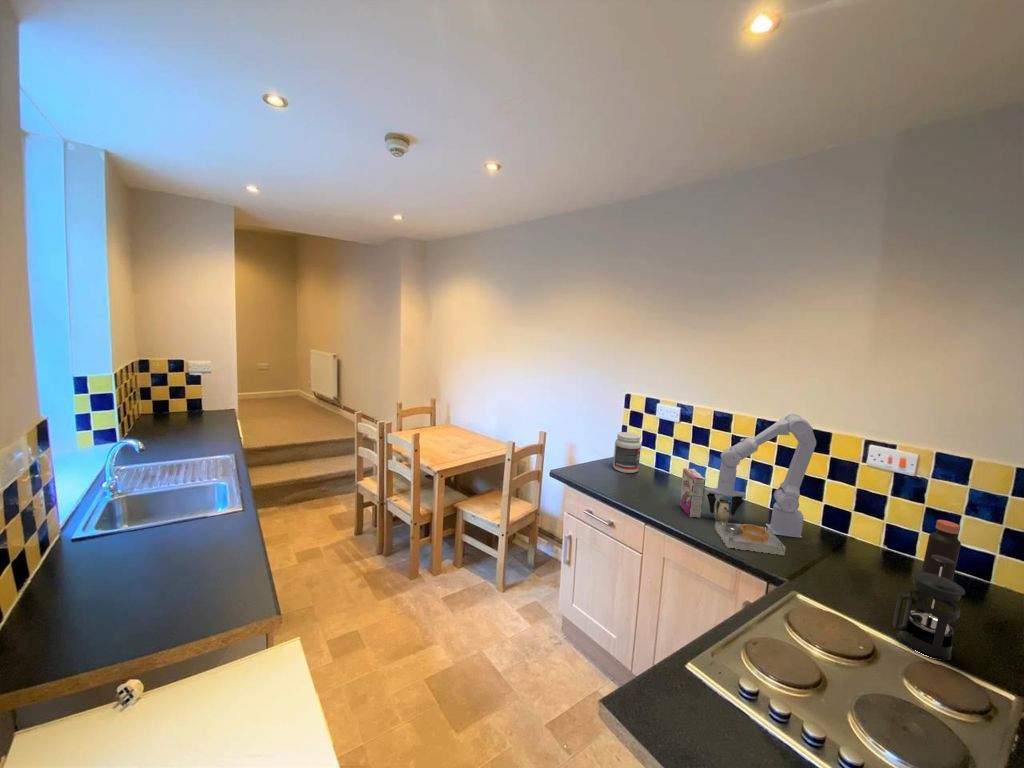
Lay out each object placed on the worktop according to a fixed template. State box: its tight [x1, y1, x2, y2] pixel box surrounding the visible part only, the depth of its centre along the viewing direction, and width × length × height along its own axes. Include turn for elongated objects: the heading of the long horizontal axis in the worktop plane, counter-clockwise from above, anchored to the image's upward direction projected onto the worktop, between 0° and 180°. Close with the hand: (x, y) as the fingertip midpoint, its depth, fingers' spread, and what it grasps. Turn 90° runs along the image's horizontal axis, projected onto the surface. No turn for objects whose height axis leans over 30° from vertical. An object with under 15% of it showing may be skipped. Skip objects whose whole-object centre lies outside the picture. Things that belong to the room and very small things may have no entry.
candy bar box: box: [678, 468, 706, 519], centre depth 171 cm, size 11×5×16 cm, turn 179°
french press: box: [892, 555, 966, 661], centre depth 102 cm, size 12×9×23 cm
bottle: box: [920, 519, 962, 582], centre depth 129 cm, size 7×7×20 cm
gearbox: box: [714, 520, 787, 556], centre depth 150 cm, size 18×14×4 cm
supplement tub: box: [612, 431, 642, 474], centre depth 217 cm, size 13×13×18 cm
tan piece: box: [713, 497, 732, 523], centre depth 165 cm, size 5×8×8 cm, turn 171°
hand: (721, 513), depth 166 cm, fingers open, 7 cm apart
